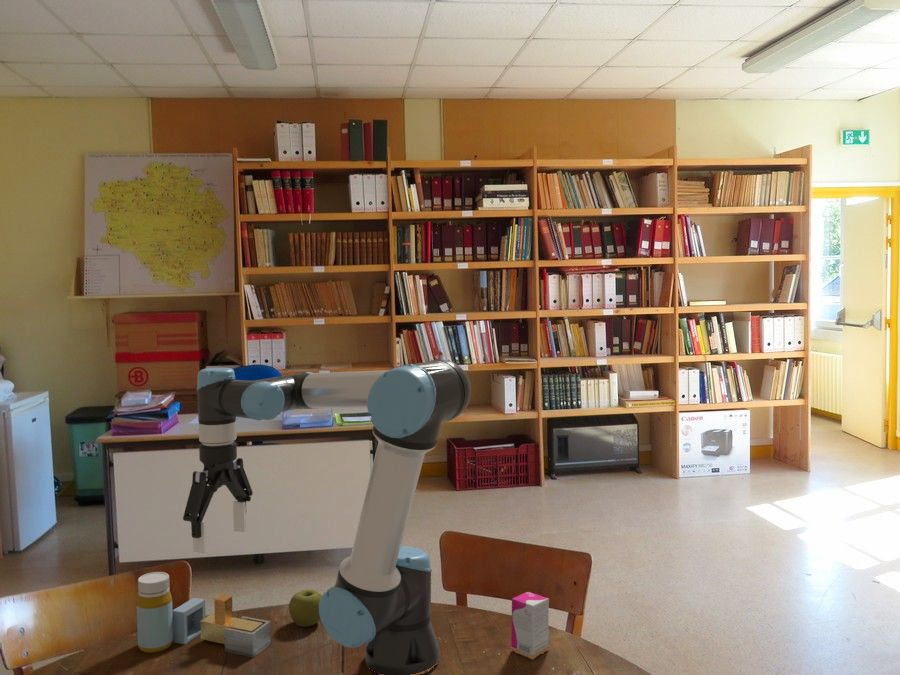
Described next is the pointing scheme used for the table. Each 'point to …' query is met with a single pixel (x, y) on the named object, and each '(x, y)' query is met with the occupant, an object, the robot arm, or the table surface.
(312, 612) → the apple
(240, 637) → the sleeve
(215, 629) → the yellow orange l-shaped block
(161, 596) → the bottle
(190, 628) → the socket block
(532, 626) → the supplement box
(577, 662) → the table surface
